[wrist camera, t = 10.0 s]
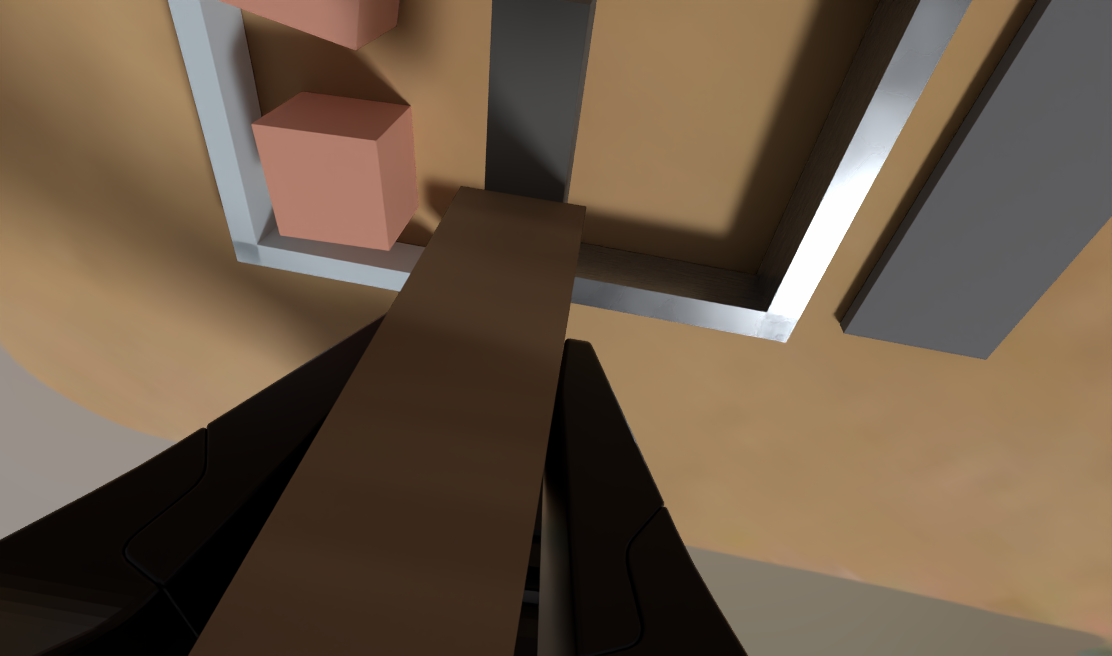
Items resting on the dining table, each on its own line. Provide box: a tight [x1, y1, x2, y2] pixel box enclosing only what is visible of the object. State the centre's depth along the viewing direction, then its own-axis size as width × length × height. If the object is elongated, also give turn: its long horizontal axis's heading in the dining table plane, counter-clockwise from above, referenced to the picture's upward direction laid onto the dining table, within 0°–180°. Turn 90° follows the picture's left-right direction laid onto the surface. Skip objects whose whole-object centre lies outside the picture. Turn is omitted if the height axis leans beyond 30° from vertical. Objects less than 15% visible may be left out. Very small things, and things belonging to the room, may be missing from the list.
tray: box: [168, 0, 425, 291], centre depth 18 cm, size 16×8×2 cm, turn 172°
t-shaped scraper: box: [188, 0, 597, 656], centre depth 9 cm, size 9×2×11 cm, turn 173°
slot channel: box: [571, 0, 972, 342], centre depth 18 cm, size 13×13×2 cm
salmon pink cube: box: [251, 92, 418, 251], centre depth 20 cm, size 4×4×4 cm
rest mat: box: [840, 0, 1112, 360], centre depth 19 cm, size 14×6×1 cm, turn 172°
